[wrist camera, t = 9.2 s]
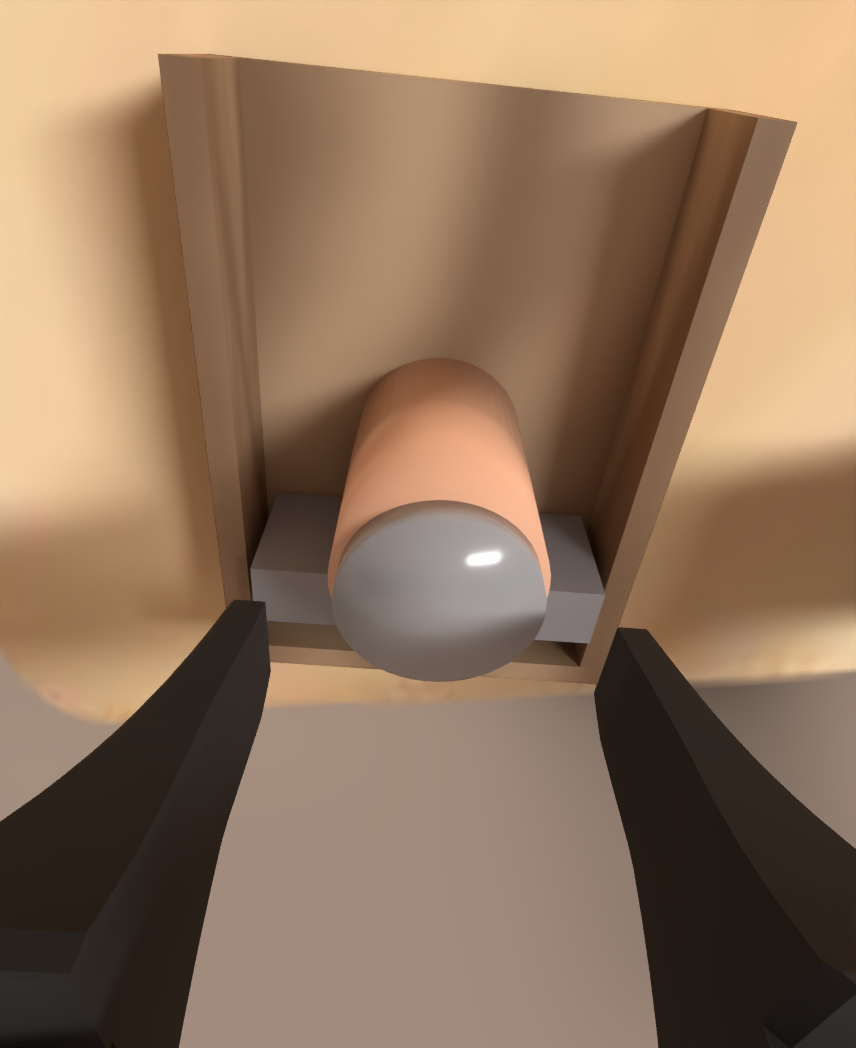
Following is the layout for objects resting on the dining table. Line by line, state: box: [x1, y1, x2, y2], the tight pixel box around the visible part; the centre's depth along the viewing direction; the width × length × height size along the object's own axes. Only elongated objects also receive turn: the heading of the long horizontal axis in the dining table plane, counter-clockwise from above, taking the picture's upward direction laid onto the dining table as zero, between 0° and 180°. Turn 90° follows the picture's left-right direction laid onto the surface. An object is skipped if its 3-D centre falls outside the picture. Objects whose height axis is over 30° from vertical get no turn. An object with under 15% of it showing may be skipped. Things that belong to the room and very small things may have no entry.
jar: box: [328, 358, 551, 682], centre depth 17 cm, size 5×5×8 cm
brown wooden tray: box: [158, 54, 797, 684], centre depth 19 cm, size 13×17×4 cm
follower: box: [250, 492, 605, 644], centre depth 20 cm, size 10×2×5 cm, turn 85°
